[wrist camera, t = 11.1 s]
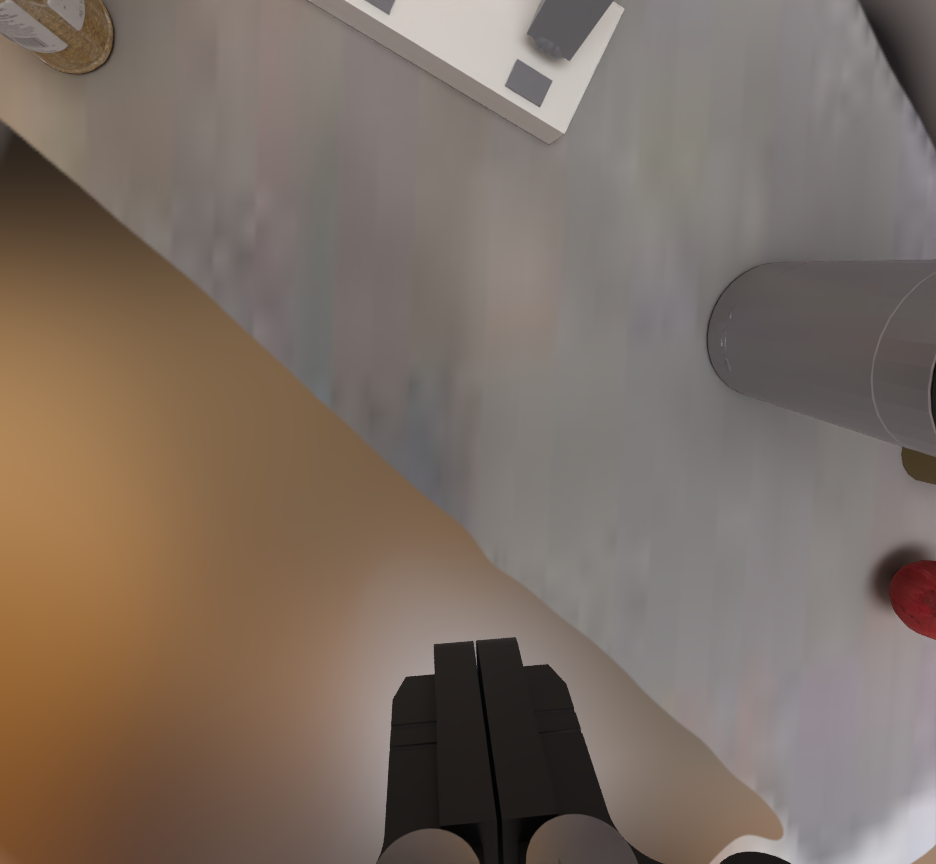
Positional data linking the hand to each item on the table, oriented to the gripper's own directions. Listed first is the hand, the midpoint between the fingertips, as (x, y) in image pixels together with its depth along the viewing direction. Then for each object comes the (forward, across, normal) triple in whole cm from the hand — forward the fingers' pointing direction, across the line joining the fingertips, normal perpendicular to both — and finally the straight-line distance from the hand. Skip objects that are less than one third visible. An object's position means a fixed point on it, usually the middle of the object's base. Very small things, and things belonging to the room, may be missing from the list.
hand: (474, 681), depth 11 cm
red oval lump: (+32, -36, +20) cm, 52 cm away
